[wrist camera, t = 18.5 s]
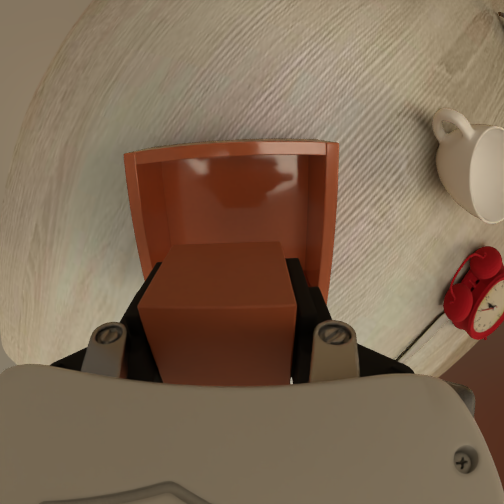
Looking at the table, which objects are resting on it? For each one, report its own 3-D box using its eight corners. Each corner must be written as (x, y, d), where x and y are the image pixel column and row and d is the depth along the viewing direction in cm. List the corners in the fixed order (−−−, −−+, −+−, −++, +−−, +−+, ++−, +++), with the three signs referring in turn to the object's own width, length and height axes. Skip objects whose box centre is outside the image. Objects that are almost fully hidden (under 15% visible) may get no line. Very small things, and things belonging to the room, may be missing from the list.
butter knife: (455, 318, 27) (447, 311, 26) (318, 431, 36) (304, 430, 35) (453, 315, 27) (445, 308, 26) (317, 429, 37) (304, 427, 36)
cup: (446, 215, 22) (490, 243, 16) (390, 139, 19) (438, 147, 13) (484, 164, 19) (529, 179, 13) (434, 85, 17) (485, 81, 11)
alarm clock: (481, 351, 26) (457, 340, 19) (457, 324, 31) (422, 301, 24) (524, 292, 22) (519, 251, 16) (497, 268, 27) (476, 221, 21)
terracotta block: (187, 327, 13) (169, 399, 9) (172, 244, 11) (135, 305, 7) (278, 326, 13) (288, 400, 9) (280, 240, 11) (297, 304, 7)
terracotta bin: (170, 278, 24) (153, 315, 19) (152, 147, 19) (123, 153, 14) (311, 274, 24) (326, 312, 19) (316, 139, 19) (339, 142, 14)
